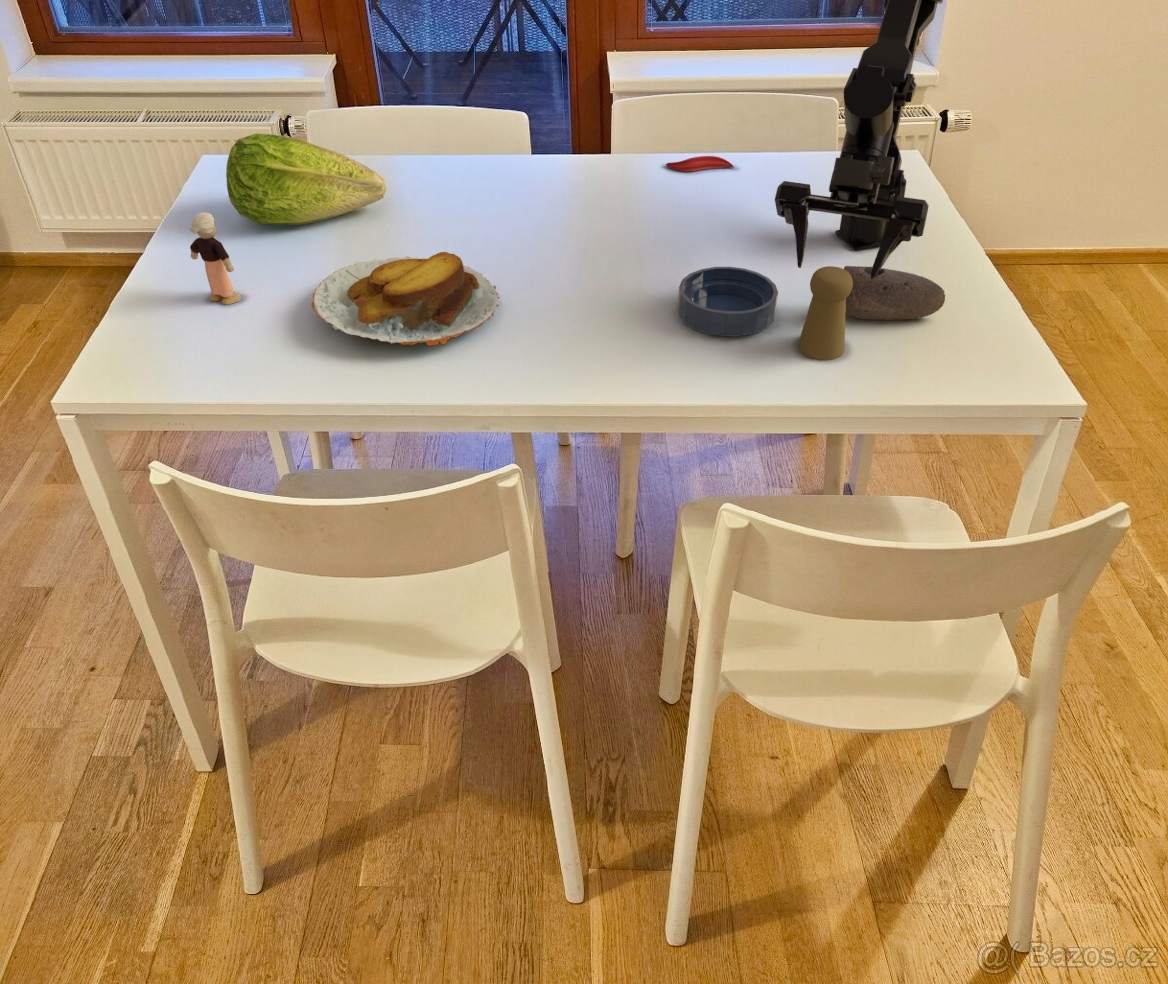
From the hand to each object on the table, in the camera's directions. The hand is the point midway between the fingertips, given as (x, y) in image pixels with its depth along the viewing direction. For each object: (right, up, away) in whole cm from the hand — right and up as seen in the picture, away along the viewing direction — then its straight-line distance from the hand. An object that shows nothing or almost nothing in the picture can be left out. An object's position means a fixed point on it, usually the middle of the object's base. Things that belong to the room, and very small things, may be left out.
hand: (835, 272), depth 130 cm
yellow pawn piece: (-1, -9, +4) cm, 10 cm away
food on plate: (-56, -3, +13) cm, 58 cm away
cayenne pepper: (-14, +44, +41) cm, 62 cm away
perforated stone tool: (+9, -4, +11) cm, 15 cm away
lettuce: (-76, +17, +37) cm, 86 cm away
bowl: (-12, -3, +11) cm, 17 cm away
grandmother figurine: (-83, 0, +16) cm, 85 cm away
